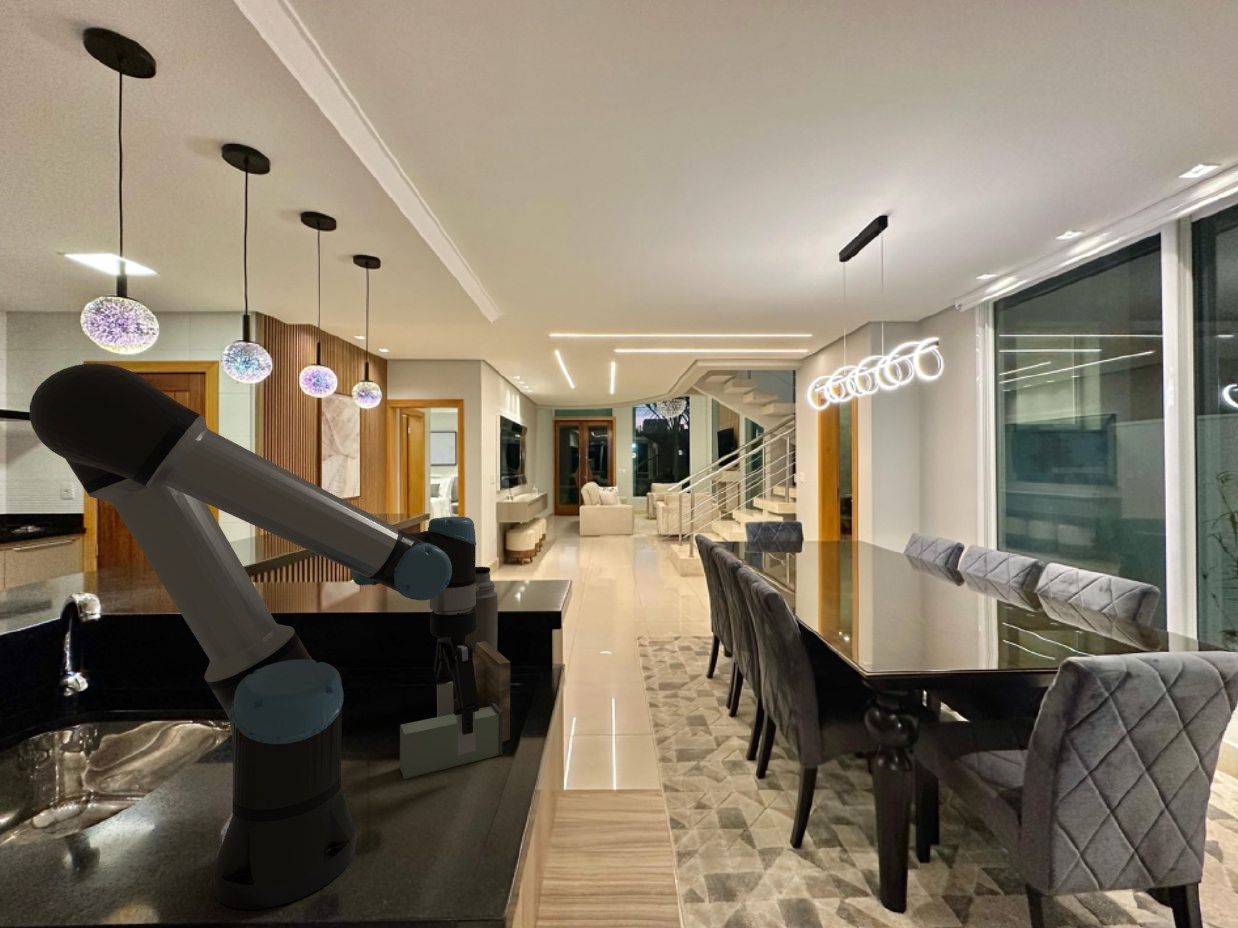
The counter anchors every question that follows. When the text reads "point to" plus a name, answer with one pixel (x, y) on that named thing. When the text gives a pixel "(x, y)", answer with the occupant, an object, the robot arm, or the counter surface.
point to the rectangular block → (448, 742)
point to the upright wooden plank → (491, 682)
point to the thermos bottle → (484, 610)
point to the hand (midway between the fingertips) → (455, 735)
